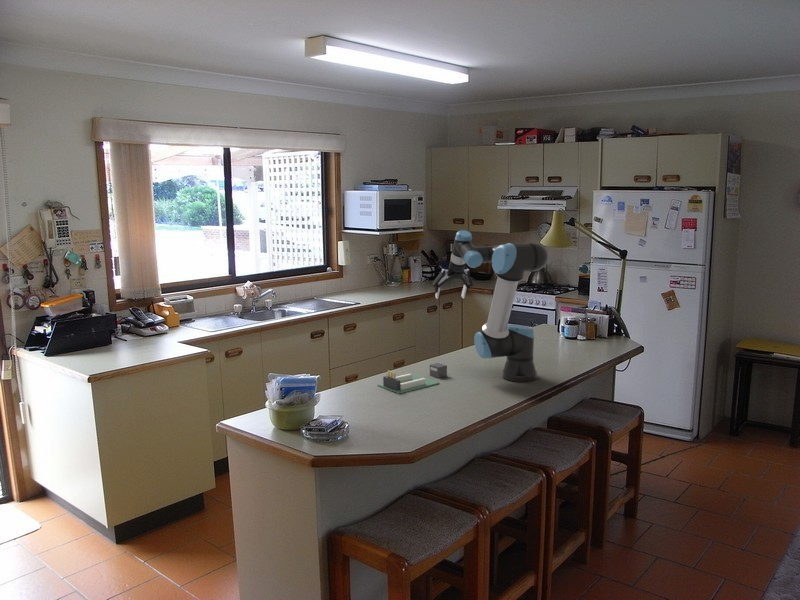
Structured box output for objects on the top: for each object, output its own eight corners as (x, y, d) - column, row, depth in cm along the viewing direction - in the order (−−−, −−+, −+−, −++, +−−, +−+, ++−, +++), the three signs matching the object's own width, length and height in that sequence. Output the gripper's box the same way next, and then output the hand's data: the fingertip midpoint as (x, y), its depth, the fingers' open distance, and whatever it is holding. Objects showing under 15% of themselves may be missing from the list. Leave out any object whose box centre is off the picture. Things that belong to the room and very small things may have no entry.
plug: (446, 376, 300) (446, 365, 299) (438, 378, 297) (438, 367, 296) (438, 373, 305) (438, 362, 304) (429, 375, 302) (429, 364, 301)
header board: (439, 383, 288) (439, 366, 287) (398, 394, 275) (398, 376, 274) (417, 376, 300) (417, 360, 299) (377, 385, 287) (377, 368, 285)
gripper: (480, 257, 323) (471, 292, 335) (431, 256, 316) (423, 293, 329) (485, 265, 317) (475, 301, 329) (435, 265, 311) (427, 302, 323)
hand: (449, 297), depth 329 cm, fingers open, 13 cm apart
